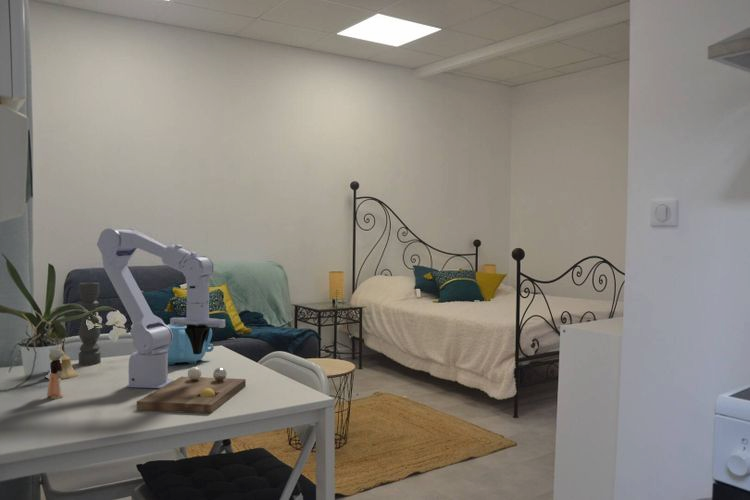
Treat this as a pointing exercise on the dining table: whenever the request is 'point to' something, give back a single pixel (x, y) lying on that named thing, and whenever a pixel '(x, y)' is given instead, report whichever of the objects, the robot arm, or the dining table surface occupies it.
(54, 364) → the grandmother figurine
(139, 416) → the dining table surface
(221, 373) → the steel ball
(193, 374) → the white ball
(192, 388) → the hole plate
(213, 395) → the ball
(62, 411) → the dining table surface
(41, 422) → the dining table surface
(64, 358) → the hand bell
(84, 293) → the candle holder
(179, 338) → the decorative pot
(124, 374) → the dining table surface
